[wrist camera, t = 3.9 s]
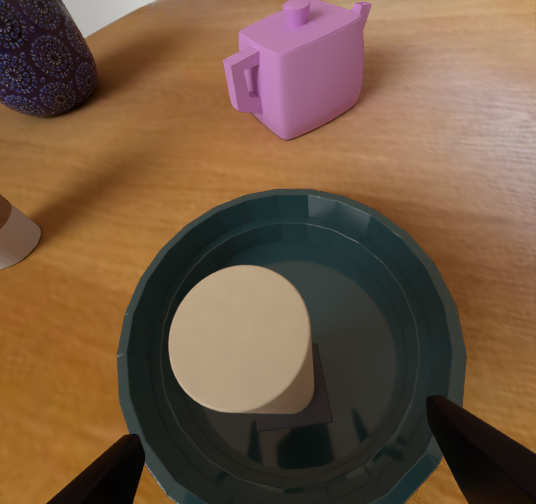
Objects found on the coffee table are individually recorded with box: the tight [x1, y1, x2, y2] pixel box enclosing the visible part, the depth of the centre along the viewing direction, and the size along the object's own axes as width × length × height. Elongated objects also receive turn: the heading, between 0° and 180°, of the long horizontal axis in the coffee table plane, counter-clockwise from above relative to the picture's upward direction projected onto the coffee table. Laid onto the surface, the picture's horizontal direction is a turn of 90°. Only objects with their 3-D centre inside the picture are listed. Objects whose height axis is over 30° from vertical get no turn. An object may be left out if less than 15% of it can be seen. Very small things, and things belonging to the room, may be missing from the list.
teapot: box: [223, 0, 372, 140], centre depth 29 cm, size 18×10×10 cm, turn 121°
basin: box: [117, 189, 467, 504], centre depth 17 cm, size 18×18×6 cm
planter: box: [0, 0, 97, 117], centre depth 39 cm, size 16×16×15 cm
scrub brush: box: [169, 265, 333, 432], centre depth 11 cm, size 4×4×14 cm
